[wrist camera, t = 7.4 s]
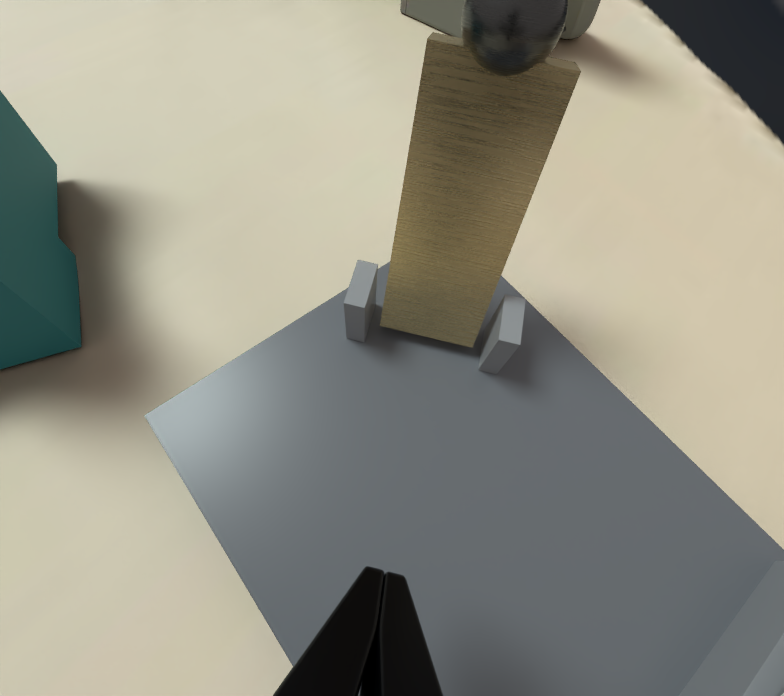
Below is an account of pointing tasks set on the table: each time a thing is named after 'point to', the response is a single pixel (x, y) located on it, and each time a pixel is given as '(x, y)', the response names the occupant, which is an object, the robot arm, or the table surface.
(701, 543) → the control panel
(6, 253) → the teal curved cradle
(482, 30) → the brass lever
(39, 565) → the table surface
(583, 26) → the digital clock
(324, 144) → the table surface
